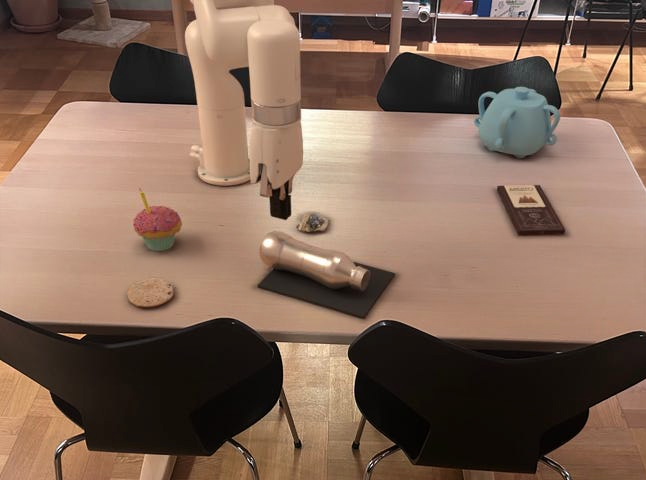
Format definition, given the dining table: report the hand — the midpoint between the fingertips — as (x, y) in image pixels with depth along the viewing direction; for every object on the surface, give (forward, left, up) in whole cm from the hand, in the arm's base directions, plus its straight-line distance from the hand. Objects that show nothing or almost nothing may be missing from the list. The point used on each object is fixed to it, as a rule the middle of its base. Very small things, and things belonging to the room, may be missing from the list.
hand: (280, 216), depth 121 cm
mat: (+9, 0, -11) cm, 14 cm away
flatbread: (-16, -17, -11) cm, 26 cm away
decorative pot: (+24, +68, -11) cm, 73 cm away
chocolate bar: (+35, +40, -11) cm, 54 cm away
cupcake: (-24, -3, -11) cm, 27 cm away
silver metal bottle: (-4, 0, -7) cm, 8 cm away
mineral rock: (-2, +16, -11) cm, 20 cm away
